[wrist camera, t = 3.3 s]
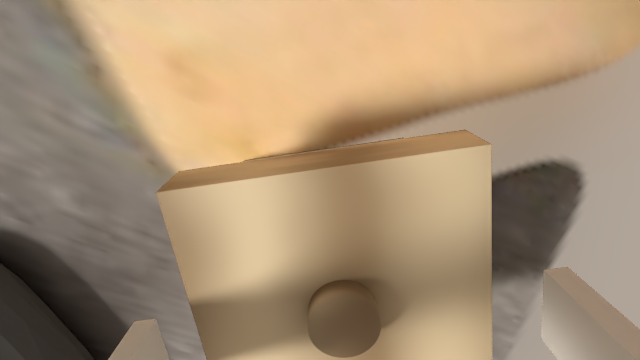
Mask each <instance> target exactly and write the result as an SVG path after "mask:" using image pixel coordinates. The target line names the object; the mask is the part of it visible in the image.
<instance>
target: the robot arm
mask: <svg viewBox="0 0 640 360" xmlns="http://www.w3.org/2000/svg"><path fill="white" fill-rule="evenodd" d="M541 334H542V335H541V339H542V340H543V341H544V342H545V344H546V345H547V346H548V348H549V349H550V350H551V352H553V354H554V355H555V357H556V358H557V359H558V360H640V329H639V328H638V327H636V326H635V325H634V324H633V323H632V322H631V321H629V320H628V319H627V318H626V317H625V316H624V315H623V314H621V313H620V312H619V311H618V310H617V309H616V308H614V307H613V306H612V305H611V304H610V303H609V302H607V301H606V300H605V299H604V298H603V297H602V296H601V295H599V294H598V293H597V292H596V291H595V290H594V289H592V288H591V287H590V286H589V285H588V284H587V283H586V282H584V281H583V280H582V279H581V278H580V277H579V276H577V275H576V274H575V273H574V272H573V271H572V270H571V269H569V268H568V267H564V268H556V269H548V270H544V279H543V306H542V333H541ZM108 360H169V357H168V354H167V351H166V348H165V345H164V342H163V339H162V336H161V333H160V330H159V327H158V324H157V321H156V319H150V320H142V321H134V323H133V324H132V326H131V327H130V328H129V330H128V331H127V333H126V334H125V336H124V337H123V339H122V340H121V341H120V343H119V344H118V346H117V347H116V349H115V350H114V352H113V353H112V354H111V356H110V357H109V359H108Z"/></svg>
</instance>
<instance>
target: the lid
mask: <svg viewBox="0 0 640 360" xmlns="http://www.w3.org/2000/svg"><path fill="white" fill-rule="evenodd" d="M156 195H157V198H158V201H159V205H160V208H161V211H162V214H163V218H164V221H165V224H166V227H167V231H168V234H169V237H170V241H171V244H172V247H173V250H174V254H175V257H176V260H177V264H178V267H179V270H180V273H181V277H182V280H183V283H184V287H185V290H186V293H187V296H188V300H189V303H190V306H191V310H192V313H193V316H194V319H195V323H196V326H197V329H198V332H199V336H200V339H201V342H202V346H203V349H204V352H205V355H206V359H207V360H492V170H491V144H490V143H488V142H486V141H485V140H483V139H481V138H479V137H477V136H476V135H473V134H472V133H470V132H468V131H466V130H460V131H454V132H446V133H439V134H432V135H427V136H419V137H412V138H405V139H398V140H391V141H384V142H377V143H371V144H364V145H357V146H350V147H343V148H336V149H329V150H322V151H316V152H309V153H302V154H295V155H288V156H281V157H274V158H267V159H261V160H254V161H247V162H240V163H233V164H226V165H219V166H212V167H206V168H199V169H192V170H185V171H179V172H178V173H177V174H176V175H175V176H173V177H172V178H171V179H170V180H169V181H168V182H167V183H166V184H165V185H164V186H162V187H161V188H160V189H159V190H158V191H157V192H156Z"/></svg>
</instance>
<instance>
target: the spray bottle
mask: <svg viewBox="0 0 640 360" xmlns="http://www.w3.org/2000/svg"><path fill="white" fill-rule="evenodd" d="M0 360H95V359H94V358H93V357H92V356H91V354H90V353H89V352H88V350H87V349H86V348H85V347H84V346H83V345H82V344H81V343H80V342H79V341H78V339H77V338H76V337H75V336H74V335H73V334H72V333H71V332H70V331H69V330H68V328H67V327H66V326H65V325H64V324H63V323H62V322H61V321H60V320H59V318H58V317H57V316H56V315H55V314H54V313H53V312H52V311H51V310H50V309H49V307H48V306H47V305H46V304H45V303H44V302H43V301H42V300H41V299H40V298H39V297H38V296H37V295H36V294H35V293H34V292H33V291H32V290H31V289H30V288H29V287H28V286H27V285H26V284H25V283H24V282H23V280H22V279H20V278H19V277H18V276H16V275H15V274H14V273H12V272H11V271H10V270H8V269H7V268H6V267H5V266H3V265H2V264H1V263H0Z"/></svg>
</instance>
